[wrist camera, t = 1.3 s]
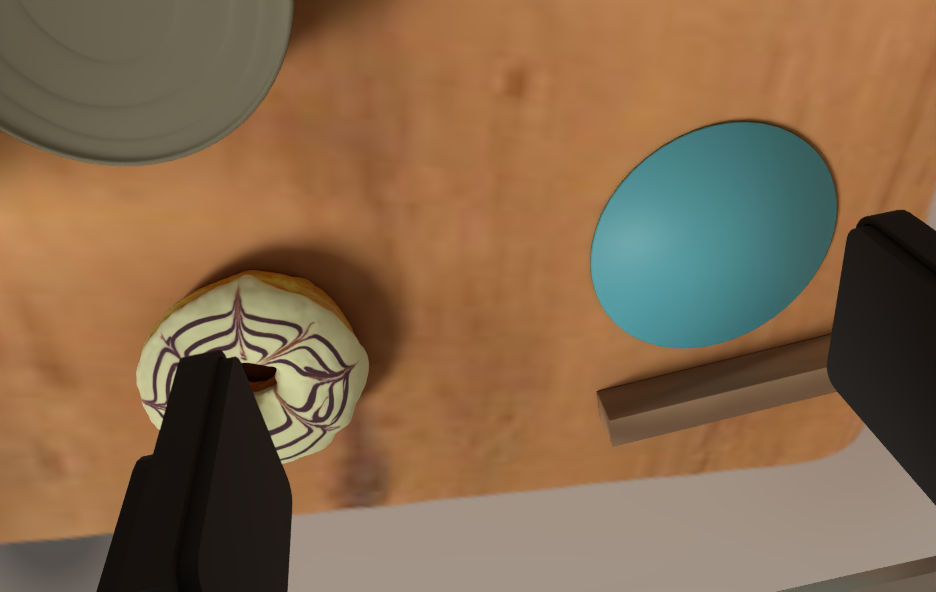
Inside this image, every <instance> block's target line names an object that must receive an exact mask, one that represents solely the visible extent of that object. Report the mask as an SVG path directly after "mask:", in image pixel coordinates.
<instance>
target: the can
mask: <svg viewBox="0 0 936 592" xmlns="http://www.w3.org/2000/svg"><path fill="white" fill-rule="evenodd" d="M293 15H294V0H0V130H1V131H3V132H5V133H6V134H8V135H10V136H12V137H14V138H16V139H18V140H20V141H22V142H24V143H26V144H29V145H31V146H33V147H36V148H38V149H41V150H43V151H46V152H49V153H52V154H55V155H58V156H61V157H65V158H69V159H73V160H77V161H81V162H87V163H93V164H99V165H111V166H141V165H151V164H158V163H163V162H168V161H172V160H176V159H179V158H183V157H186V156H189V155H191V154H194V153H196V152H199V151H201V150H203V149H205V148H207V147H209V146H211V145H213V144H215V143H217V142H218V141H220V140H221V139H223V138H224V137H226V136H227V135H229V134H230V133H232V132H233V131H234V130H235V129H236V128H238V127H239V126H240V125H241V124H242V123H243V122H244V121H245V120H246V119H247V118H248V117H249V116H250V115H251V114H252V113H253V112H254V111H255V110H256V109H257V107H258V106H259V105H260V103H261V102H262V101H263V99H264V98H265V97H266V95H267V93H268V92H269V90H270V88H271V87H272V85H273V83H274V82H275V79H276V77H277V75H278V73H279V71H280V69H281V66H282V63H283V60H284V58H285V55H286V52H287V48H288V44H289V40H290V35H291V31H292V23H293Z"/></svg>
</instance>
